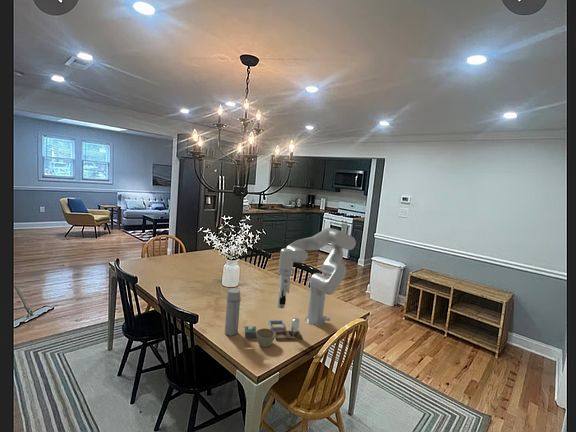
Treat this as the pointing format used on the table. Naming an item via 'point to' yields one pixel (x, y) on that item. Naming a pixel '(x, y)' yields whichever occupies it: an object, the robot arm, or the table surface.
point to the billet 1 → (279, 301)
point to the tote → (276, 327)
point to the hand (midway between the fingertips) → (281, 302)
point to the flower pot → (265, 337)
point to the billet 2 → (294, 327)
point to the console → (250, 332)
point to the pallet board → (286, 335)
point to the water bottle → (232, 311)
